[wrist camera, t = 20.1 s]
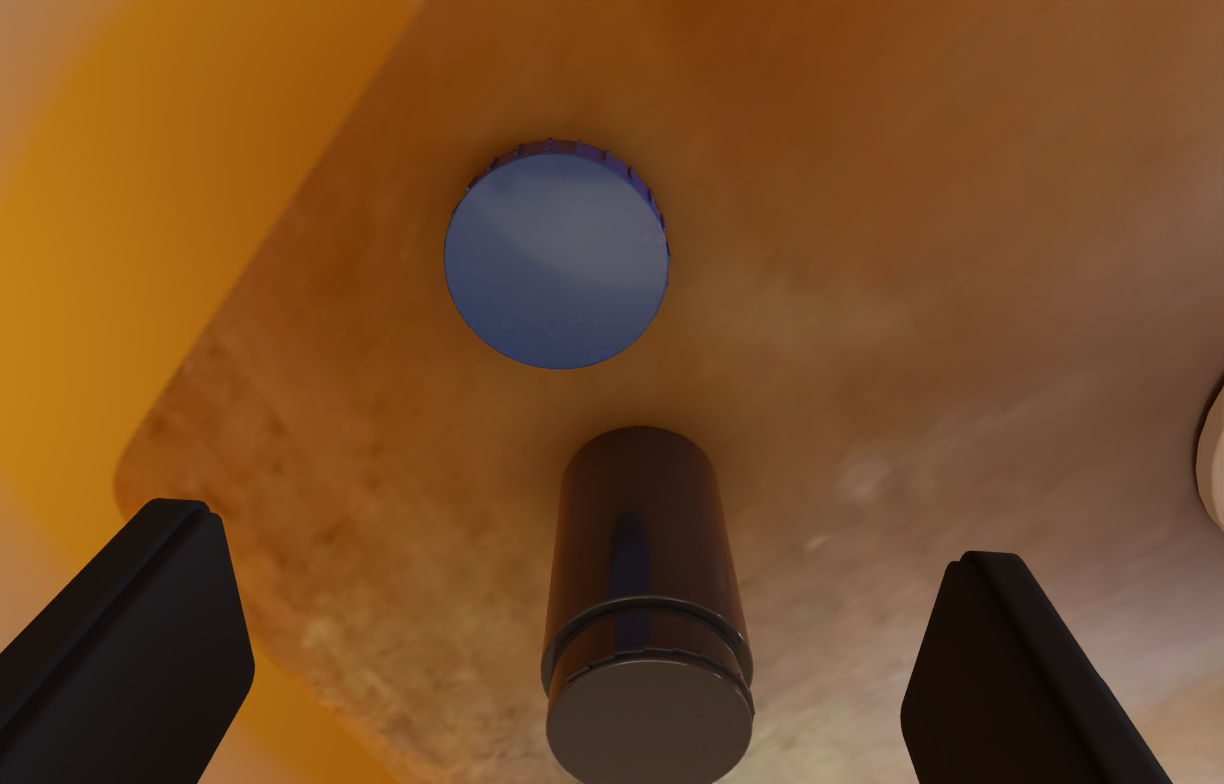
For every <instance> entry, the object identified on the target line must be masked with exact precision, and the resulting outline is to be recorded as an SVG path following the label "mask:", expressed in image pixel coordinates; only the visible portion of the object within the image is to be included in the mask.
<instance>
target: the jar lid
mask: <svg viewBox="0 0 1224 784" xmlns="http://www.w3.org/2000/svg"><path fill="white" fill-rule="evenodd" d="M609 152H610V151H608V150H606V151H602V150H600V149H598V148H595V147H593V146H589V145H586V144H582V143H581V140H578V142H571V141H552V138H548V140H547V141H544V142H536V143H532V144H529V145H525V146H524V145H523V144H520V145H519V146H518V148H517V149H515V150H513V151H510V152H508V153H507V154H505V155H503V156H502V157H500V158H498V157H497V156H496V157H495V158H494V159H493V160H492V162H491V163H490V164H489V166H488V167H487V168H486V169H485V170H484V171H483V172H482V173H481V175H480V176H479V177H477V176H475V177H474V178H473V180H472V181H471V182H470V184H469V185H468V186H467V188H466V189H465V190H466V191H467V193H466V194H465V196H464V197H463V199H462V200H461V201H460V202H459V203H458V205H457V206H456V207H455V209H454V210H453V212H452V214H451V215H452V218H451V221H450V224H449V227H448V230H447V234H446V239H445V242H444V243H445V245H444V268H445V276H446V280H447V284H448V288H449V291H450V294H451V296H452V299H453V302H454V303H455V305H456V307H457V309H458V311H459V313H460V314H461V316H462V317H463V319H464V320H465V321H466V323H467V324H468V326H469V327H470V328H471V329H472V330H473V331H474V332H475V333H476V334H477V335H478V336H479V337H480V338H481V339H482V340H483V341H484V342H486V343H487V344H488V345H489V346H491V347H492V348H494V349H495V350H497V351H498V352H500V353H501V354H503V355H505V356H507V357H509V358H511V359H513V360H516V361H519V362H521V363H524V364H527V365H532V366H536V367H540V368H548V369H572V368H580V367H584V366H589V365H593V364H596V363H598V362H601V361H604V360H606V359H608V358H610V357H612V356H614V355H616V354H618V353H619V352H621V351H622V350H624V349H625V348H627V347H628V346H630V345H631V344H632V343H633V342H634V341H635V340H636V339H637V338H638V337H639V336H640V335H641V334H642V333H643V332H644V331H645V330H646V328H647V327H648V326H649V324H650V323H651V321H652V320H653V318H654V317H655V315H656V313H657V311H658V309H659V307H660V305H661V302H662V299H663V296H664V293H665V290H666V287H667V285H668V283H667V279H668V263H669V262H668V259H670V251H669V246H668V241H666V239H665V234H664V231H666V227H665V222H664V217H663V214H660V213H659V211H658V208H657V205H656V203H655V201H654V199H653V194H652V190H651V188H650V189H647V187H646V186H645V185H644V183H643V182H642V181H641V179H640V178H639V177H638V176H637V175H636V174H635V173H634V168H633V167H632V166H631V167H630V168H629V167H628V166H626V165H625V164H624V163H622V162H621V161H620V160H619V159H617V158H615V157H614V156H612V155H610V154H609Z"/></svg>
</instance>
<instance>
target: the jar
mask: <svg viewBox="0 0 1224 784" xmlns="http://www.w3.org/2000/svg"><path fill="white" fill-rule="evenodd" d="M540 671H541V681H542V685H543V689H544V691H545V693H546V696H547V698H548V700H549V701H548V711H547V721H546V735H547V740H548V743H549V746H550V749H551V751H552V753H553V755H554V756H555V758H556V759H557V761H558V762H559V763H560V765H561V766H562V767H563V768H564V769H565V770H566V771H567V772H569V773H570V774H571V775H572V776H574V777H575V778H577V779H578V780H580V781H581V782H583V783H585V784H712V783H714V782H715V781H717V780H719V779H720V778H722V777H723V776H725V775H726V774H727V773H728V772H730V771H731V770H732V769H733V768H734V767H735V766H736V765H737V764H738V763H739V761H740V760H741V759H742V757H743V756H744V754H745V752H746V750H747V748H748V746H749V743H750V740H751V736H752V728H753V726H752V723H753V718H754V715H755V710H754V705H753V699H752V694H751V690H750V686H751V683H752V679H753V659H752V654H751V649H750V644H749V639H748V634H747V629H746V623H745V618H744V613H743V608H742V603H741V598H740V593H739V588H738V583H737V578H736V573H735V568H734V563H733V558H732V553H731V548H730V543H729V538H728V533H727V528H726V522H725V517H724V512H723V507H722V502H721V497H720V492H719V487H718V482H717V478H716V474H715V472H714V470H713V467H712V465H711V464H710V462H709V460H708V459H707V457H706V456H705V455H704V454H703V453H702V452H701V451H700V450H699V449H698V448H697V447H696V446H695V445H694V444H692V443H691V442H689V441H688V440H686V439H685V438H683V437H680V436H678V435H676V434H674V433H671V432H668V431H665V430H661V429H656V428H647V427H633V428H625V429H620V430H616V431H612V432H610V433H607V434H604V435H602V436H600V437H598V438H596V439H594V440H593V441H591V442H590V443H588V444H587V445H586V446H585V447H583V448H582V449H581V450H580V451H579V452H578V453H577V454H576V455H575V457H574V458H573V459H572V460H571V462H570V464H569V465H568V467H567V469H566V471H565V474H564V477H563V480H562V486H561V495H560V503H559V512H558V521H557V529H556V538H555V547H554V556H553V564H552V573H551V582H550V590H549V599H548V608H547V617H546V625H545V634H544V643H543V652H542V660H541V670H540Z"/></svg>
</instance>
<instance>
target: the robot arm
mask: <svg viewBox="0 0 1224 784" xmlns="http://www.w3.org/2000/svg"><path fill="white" fill-rule="evenodd" d="M1196 476H1197V483H1198V489H1199V495H1200V497H1201V499H1202V501H1203V504H1204V506H1205V508H1206V510H1207V512H1208V514H1209V516H1210V517H1211V518H1212V520H1213V521H1214V522H1215V523H1216V524H1217V525H1218V526H1219V527H1220V529H1221V530H1222V531H1223V532H1224V386H1223V388H1222V390H1221V391H1220V393H1219V395H1218V397H1217V398H1216V400H1215V402H1214V404H1213V406H1212V407H1211V409H1210V411H1209V413H1208V416H1207V419H1206V422H1205V425H1204V428H1203V431H1202V433H1201V436H1200V439H1199V443H1198V452H1197V461H1196ZM254 673H255V663H254V657H253V653H252V649H251V644H250V640H249V636H248V631H247V627H246V623H245V618H244V614H243V609H242V605H241V601H240V596H239V592H238V588H237V583H236V579H235V575H234V570H233V566H232V561H231V557H230V553H229V548H228V544H227V540H226V535H225V531H224V527H223V523H222V520H221V517H220V516H219V515H218V514H215V513H211V512H210V510H209V507H208V506H207V505H206V504H205V502H202V501H196V500H181V499H165V498H156V499H152V500H151V501H149V502H148V503H147V504H145V505H144V506H143V508H142V509H141V510H140V511H139V512H138V513H137V514H136V515H135V516H134V517H133V518H132V519H131V520H130V521H129V522H128V523H127V524H126V525H125V526H124V527H123V528H122V529H121V530H120V531H119V532H118V533H117V534H116V535H115V536H114V537H113V538H112V539H111V540H110V541H109V543H107V545H106V546H105V547H104V548H103V549H102V550H101V551H100V552H99V553H98V554H97V555H96V556H95V557H94V558H93V559H92V560H91V561H90V562H89V563H88V564H87V565H86V566H85V567H84V568H83V569H82V570H81V571H80V572H79V573H78V574H77V576H75V578H73V579H72V581H71V582H70V583H69V584H68V585H67V586H66V587H65V588H64V589H63V590H62V591H61V592H60V593H59V594H58V595H57V596H56V597H55V598H54V599H53V600H52V601H51V602H50V603H49V604H48V605H47V606H46V607H45V608H44V609H43V610H42V611H41V612H40V613H39V614H38V616H37V617H36V618H35V619H34V620H33V621H32V622H31V623H30V624H29V625H28V626H27V627H26V628H25V629H24V630H23V631H22V632H21V633H20V634H19V635H18V636H17V637H16V638H15V639H14V640H13V641H12V642H11V643H10V644H9V645H8V646H7V647H6V648H5V649H4V651H2V652H1V653H0V784H197V783H198V781H199V779H200V777H201V776H202V774H203V772H204V770H205V769H206V767H207V765H208V763H209V762H210V760H211V758H212V756H213V754H214V753H215V751H216V749H217V747H218V746H219V744H220V742H221V740H222V738H223V737H224V735H225V733H226V731H227V729H228V728H229V726H230V724H231V723H232V721H233V719H234V717H235V716H236V714H237V712H238V710H239V708H240V707H241V705H242V703H243V701H244V700H245V698H246V696H247V694H248V692H249V690H250V688H251V685H252V682H253V678H254ZM900 718H901V728H902V733H903V737H904V740H905V743H906V746H907V749H908V752H909V754H910V757H911V760H912V763H913V766H914V769H915V772H916V775H917V778H918V780H919V783H920V784H1173V783H1172V782H1171V780H1170V779H1169V777H1168V776H1167V774H1166V773H1165V771H1164V770H1163V768H1162V767H1161V765H1160V764H1159V762H1158V761H1157V759H1156V758H1155V756H1154V755H1153V753H1152V752H1151V750H1150V749H1149V747H1148V746H1147V744H1146V743H1145V741H1144V740H1143V738H1142V737H1141V735H1140V734H1139V732H1138V731H1137V729H1136V728H1135V726H1134V725H1133V723H1132V722H1131V720H1130V719H1129V717H1128V716H1127V714H1126V713H1125V711H1124V710H1123V708H1122V707H1121V705H1120V704H1119V702H1118V701H1117V699H1116V698H1115V696H1114V695H1113V693H1112V692H1111V690H1110V689H1109V687H1108V686H1107V684H1106V683H1105V681H1104V680H1103V679H1102V678H1101V677H1100V676H1099V674H1098V673H1097V671H1096V670H1095V668H1094V667H1093V665H1092V664H1091V662H1090V661H1089V659H1088V658H1087V656H1086V655H1085V653H1084V652H1083V650H1082V649H1081V647H1080V646H1079V644H1078V643H1077V641H1076V640H1075V638H1074V637H1073V635H1072V634H1071V632H1070V631H1069V629H1068V628H1067V626H1066V625H1065V623H1064V622H1063V620H1062V619H1061V617H1060V616H1059V614H1058V613H1057V611H1056V610H1055V608H1054V607H1053V605H1052V604H1051V602H1050V601H1049V599H1048V598H1047V596H1046V595H1045V593H1044V591H1043V590H1042V588H1041V587H1040V585H1039V584H1038V582H1037V581H1036V579H1035V578H1034V576H1033V575H1032V573H1031V572H1030V570H1029V569H1028V567H1027V566H1026V564H1025V563H1024V561H1023V560H1022V559H1021V558H1020V557H1019V556H1018V555H1016V554H1013V553H1000V552H985V551H967V552H965V553H964V554H963V555H962V557H961V559H960V561H952V562H950V563H949V564H948V566H947V568H946V570H945V574H944V577H943V580H942V583H941V586H940V589H939V592H938V595H937V598H936V601H935V604H934V607H933V610H932V614H931V617H930V620H929V623H928V626H927V629H926V632H925V635H924V638H923V641H922V644H921V647H920V650H919V653H918V657H917V660H916V663H915V666H914V669H913V672H912V675H911V678H910V681H909V684H908V687H907V690H906V693H905V696H904V700H903V703H902V707H901V715H900Z"/></svg>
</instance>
